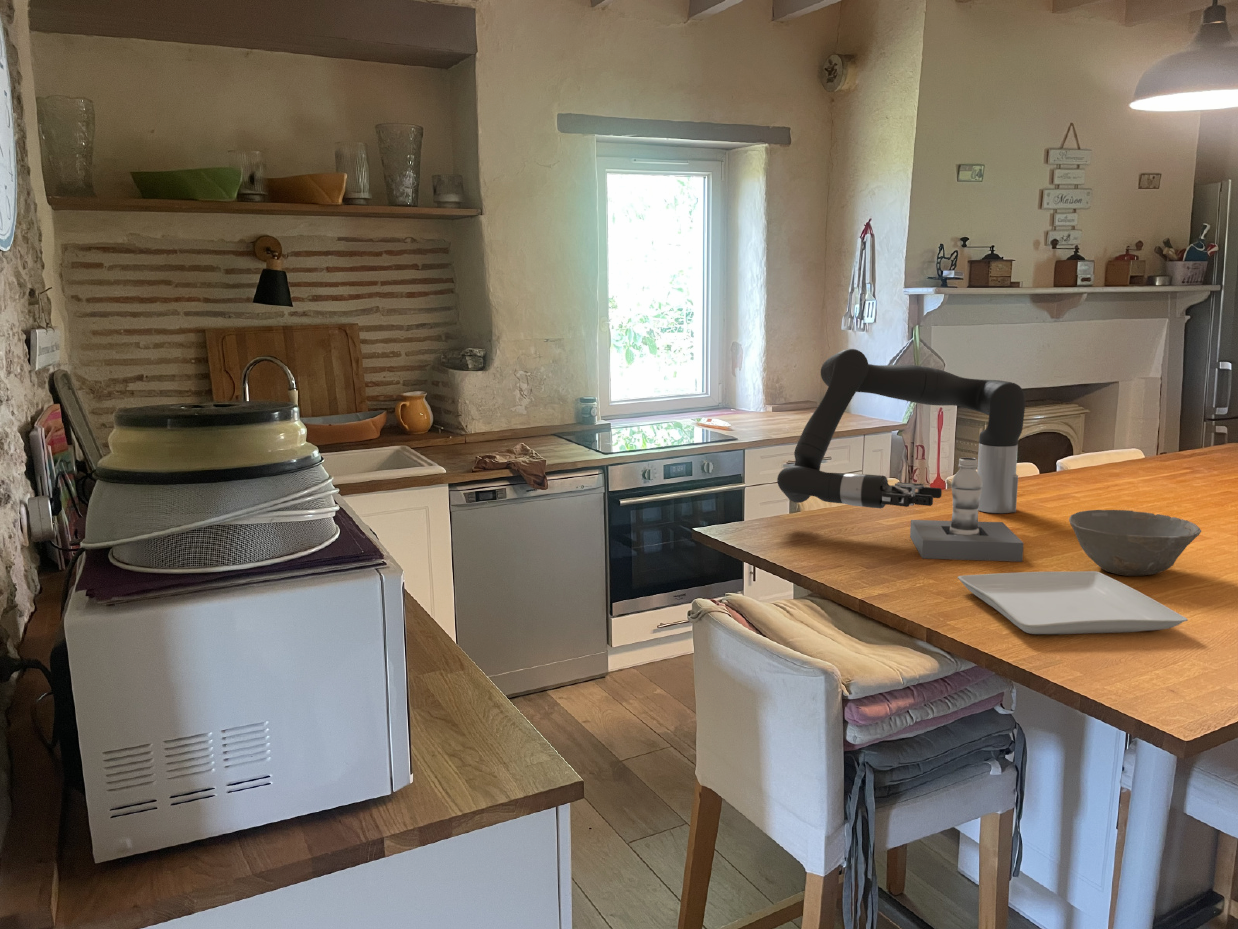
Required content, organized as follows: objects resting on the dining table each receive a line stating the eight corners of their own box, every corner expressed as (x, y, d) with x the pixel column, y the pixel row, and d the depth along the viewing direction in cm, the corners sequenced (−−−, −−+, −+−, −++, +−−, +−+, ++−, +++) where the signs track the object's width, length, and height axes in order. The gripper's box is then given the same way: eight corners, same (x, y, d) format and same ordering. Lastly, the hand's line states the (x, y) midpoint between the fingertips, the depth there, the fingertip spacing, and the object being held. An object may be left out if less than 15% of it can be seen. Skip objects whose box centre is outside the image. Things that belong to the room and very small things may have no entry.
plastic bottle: (974, 544, 202) (979, 456, 198) (983, 552, 195) (988, 461, 192) (944, 544, 202) (948, 456, 199) (952, 552, 196) (956, 461, 192)
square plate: (1095, 588, 172) (1097, 568, 171) (1189, 641, 145) (1191, 618, 145) (954, 591, 171) (955, 571, 171) (1022, 645, 144) (1024, 622, 144)
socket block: (1001, 539, 206) (1002, 522, 205) (1022, 561, 188) (1023, 543, 188) (910, 536, 209) (910, 519, 208) (922, 558, 192) (922, 540, 191)
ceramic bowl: (1040, 562, 188) (1043, 515, 186) (1123, 550, 195) (1126, 505, 194) (1134, 594, 167) (1139, 541, 165) (1222, 579, 175) (1227, 529, 173)
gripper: (855, 479, 202) (930, 486, 193) (873, 469, 214) (944, 474, 205) (854, 512, 203) (929, 520, 195) (872, 500, 215) (943, 507, 207)
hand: (937, 497), depth 200 cm, fingers open, 8 cm apart
